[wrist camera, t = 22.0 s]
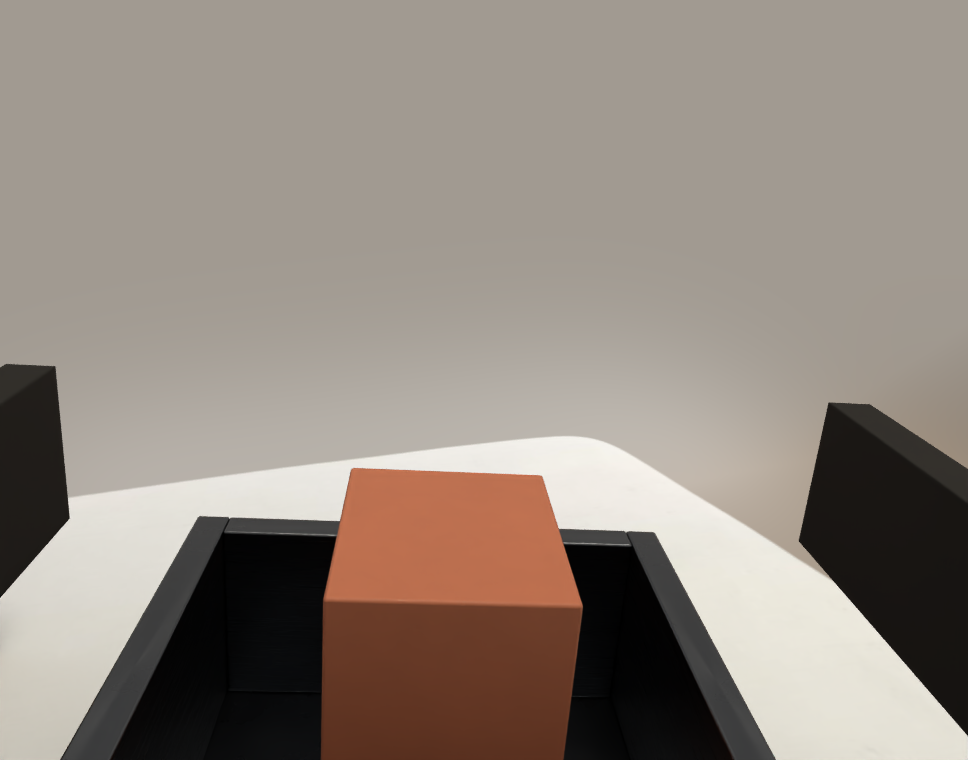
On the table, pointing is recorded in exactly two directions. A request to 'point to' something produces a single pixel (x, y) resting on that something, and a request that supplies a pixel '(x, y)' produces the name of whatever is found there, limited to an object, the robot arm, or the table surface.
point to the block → (447, 620)
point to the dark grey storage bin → (299, 641)
